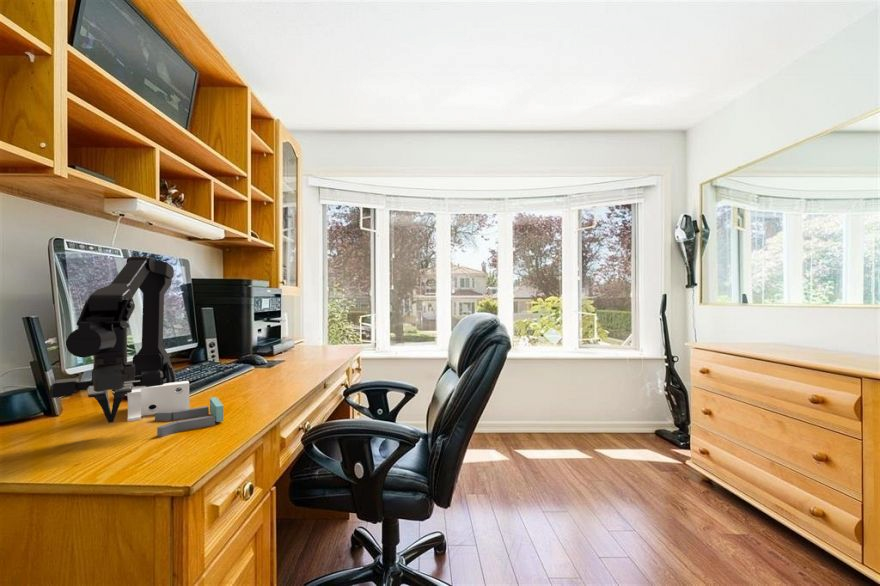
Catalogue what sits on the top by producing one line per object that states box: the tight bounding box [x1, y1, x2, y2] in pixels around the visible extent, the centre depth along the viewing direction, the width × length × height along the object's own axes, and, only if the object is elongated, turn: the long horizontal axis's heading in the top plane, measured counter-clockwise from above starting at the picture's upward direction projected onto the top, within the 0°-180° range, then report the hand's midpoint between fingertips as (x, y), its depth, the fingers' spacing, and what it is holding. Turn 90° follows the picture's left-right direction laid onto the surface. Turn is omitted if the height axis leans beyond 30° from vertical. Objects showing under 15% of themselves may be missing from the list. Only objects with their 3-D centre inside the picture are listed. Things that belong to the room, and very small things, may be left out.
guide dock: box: [154, 405, 216, 438], centre depth 96 cm, size 16×11×2 cm
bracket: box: [126, 380, 190, 422], centre depth 104 cm, size 13×7×8 cm
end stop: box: [209, 396, 224, 423], centre depth 100 cm, size 10×2×4 cm, turn 37°
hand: (111, 422), depth 88 cm, fingers closed
